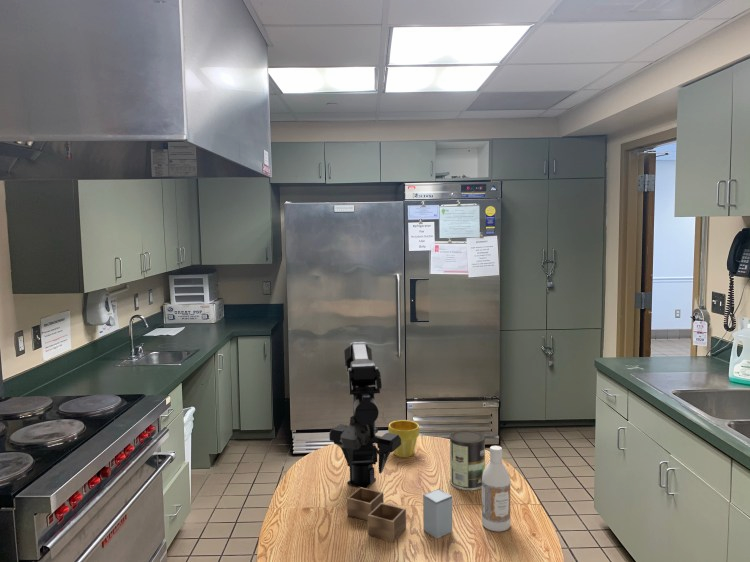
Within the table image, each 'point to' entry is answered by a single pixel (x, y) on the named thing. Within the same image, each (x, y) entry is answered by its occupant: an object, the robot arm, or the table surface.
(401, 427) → the plant pot
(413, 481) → the table surface
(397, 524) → the box
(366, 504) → the box
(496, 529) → the bath foam
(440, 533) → the pale grey square pillar
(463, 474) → the coffee can
